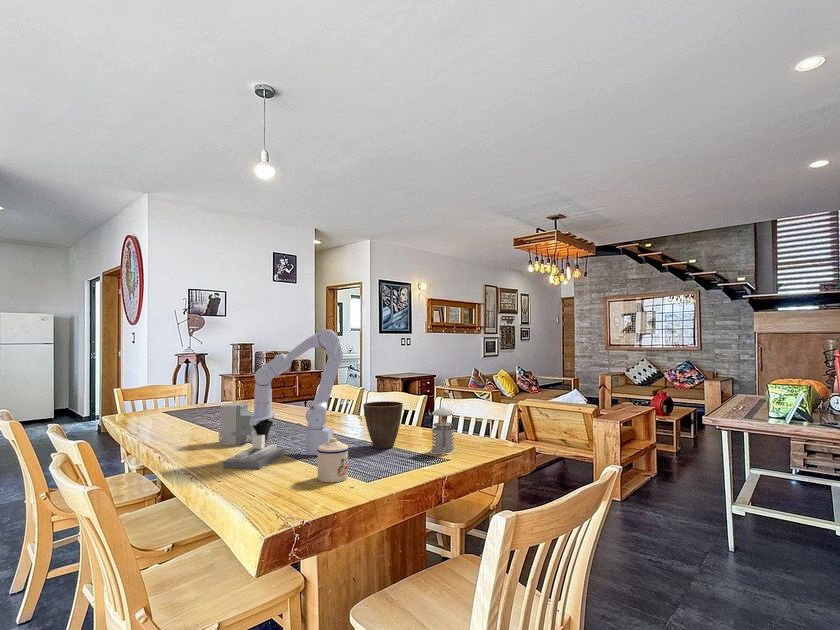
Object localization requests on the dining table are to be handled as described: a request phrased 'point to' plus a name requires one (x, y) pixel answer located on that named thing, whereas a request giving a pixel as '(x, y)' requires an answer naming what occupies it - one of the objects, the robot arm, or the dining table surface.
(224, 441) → the circuit breaker
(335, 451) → the teacup with lid
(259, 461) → the panel
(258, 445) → the lever
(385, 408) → the plant pot
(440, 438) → the french press
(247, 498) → the dining table surface
